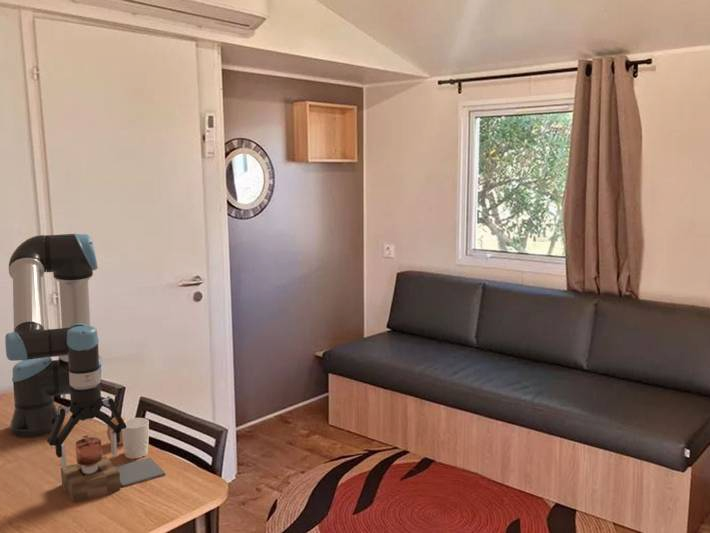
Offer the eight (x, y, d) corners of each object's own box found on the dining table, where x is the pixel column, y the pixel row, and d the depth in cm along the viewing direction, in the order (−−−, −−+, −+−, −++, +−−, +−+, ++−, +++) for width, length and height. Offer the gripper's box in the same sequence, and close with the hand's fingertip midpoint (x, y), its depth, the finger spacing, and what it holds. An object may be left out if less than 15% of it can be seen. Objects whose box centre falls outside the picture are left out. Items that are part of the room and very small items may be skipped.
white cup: (141, 461, 196) (140, 429, 194) (117, 458, 198) (115, 426, 196) (154, 449, 204) (153, 418, 202) (131, 447, 205) (130, 416, 204)
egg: (123, 449, 203) (122, 421, 202) (103, 447, 205) (102, 419, 203) (134, 440, 210) (132, 413, 208) (114, 438, 211) (113, 411, 209)
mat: (109, 470, 190) (109, 468, 190) (150, 459, 197) (150, 457, 197) (122, 487, 180) (122, 485, 180) (165, 474, 188) (165, 472, 188)
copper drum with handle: (75, 486, 181) (72, 438, 179) (99, 479, 185) (97, 432, 182) (82, 495, 176) (79, 446, 174) (106, 488, 180) (104, 440, 177)
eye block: (61, 484, 181) (60, 467, 180) (106, 472, 189) (105, 456, 188) (73, 503, 172) (72, 485, 171) (120, 489, 179) (119, 472, 178)
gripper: (38, 398, 165) (43, 478, 169) (136, 379, 180) (139, 453, 183) (31, 390, 171) (36, 467, 174) (127, 372, 186) (130, 444, 189)
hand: (89, 460), depth 179 cm, fingers open, 12 cm apart
